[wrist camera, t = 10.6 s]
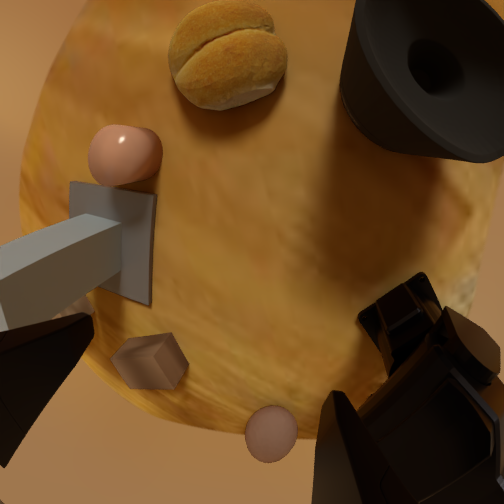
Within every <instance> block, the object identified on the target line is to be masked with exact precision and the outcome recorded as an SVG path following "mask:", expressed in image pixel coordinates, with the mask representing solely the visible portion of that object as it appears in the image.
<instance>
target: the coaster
mask: <svg viewBox="0 0 504 504" xmlns="http://www.w3.org/2000/svg"><path fill="white" fill-rule="evenodd" d="M156 201H157V195H156V194H151V193H145V192H139V191H134V190H128V189H122V188H116V187H108V186H103V185H97V184H91V183H84V182H78V181H71V182H70V195H69V219H71V218H74V217H77V216H80V215H83V214H90V215H94V216H98V217H102V218H105V219H109V220H113V221H117V222H121V223H122V230H121V271H119V272H118V273H116V274H115V275H113V276H112V277H110V278H109V279H107V280H106V281H104V282H103V283H101V284H100V285H98V287H101V288H103V289H106V290H108V291H111V292H114V293H116V294H119V295H121V296H124V297H127V298H129V299H132V300H135V301H138V302H140V303H143V304H146V305H149V304H150V303H152V260H153V240H154V225H155V212H156Z"/></svg>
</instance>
